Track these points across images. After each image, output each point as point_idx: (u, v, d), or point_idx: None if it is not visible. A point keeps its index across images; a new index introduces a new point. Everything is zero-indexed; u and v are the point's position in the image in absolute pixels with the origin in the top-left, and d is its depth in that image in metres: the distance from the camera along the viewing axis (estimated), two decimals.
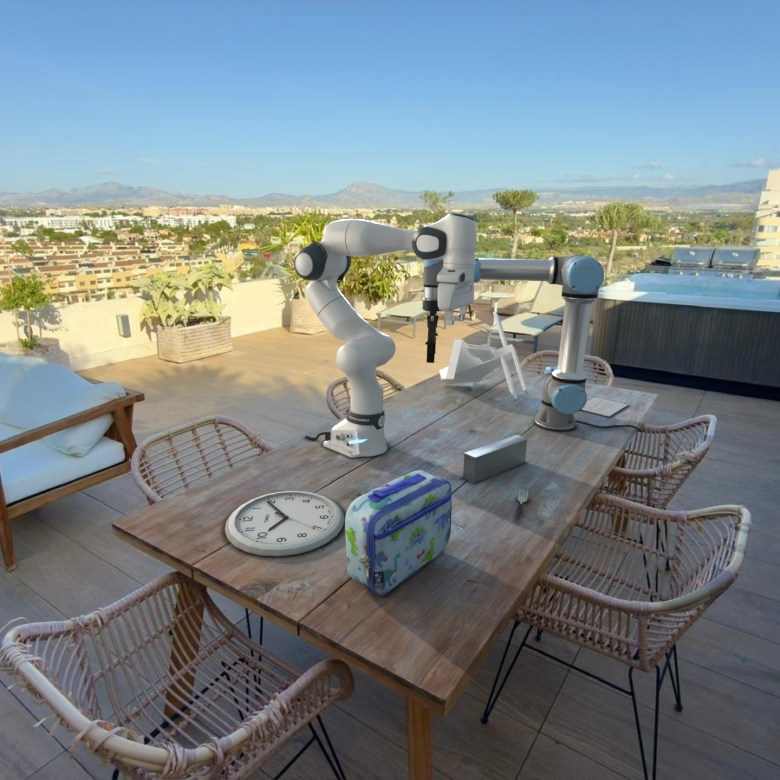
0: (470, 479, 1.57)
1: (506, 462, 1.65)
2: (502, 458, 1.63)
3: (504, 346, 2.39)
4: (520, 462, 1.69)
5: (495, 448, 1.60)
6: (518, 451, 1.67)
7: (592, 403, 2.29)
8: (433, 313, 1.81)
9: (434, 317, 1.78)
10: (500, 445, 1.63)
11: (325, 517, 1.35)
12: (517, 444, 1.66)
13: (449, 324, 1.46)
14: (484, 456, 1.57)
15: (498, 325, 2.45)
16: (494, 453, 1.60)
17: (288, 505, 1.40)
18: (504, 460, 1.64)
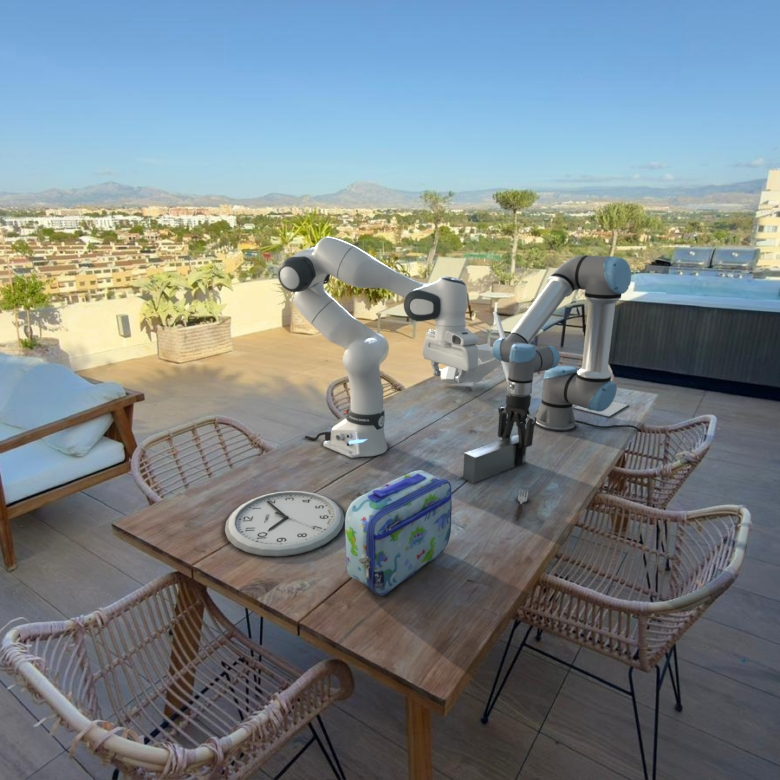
0: (470, 479, 1.57)
1: (506, 462, 1.65)
2: (502, 458, 1.63)
3: None
4: None
5: (495, 448, 1.60)
6: None
7: None
8: (527, 410, 1.62)
9: (535, 420, 1.61)
10: (500, 445, 1.63)
11: (325, 517, 1.35)
12: (517, 444, 1.66)
13: (461, 382, 1.53)
14: (484, 456, 1.57)
15: (498, 325, 2.45)
16: (494, 453, 1.60)
17: (288, 505, 1.40)
18: (504, 460, 1.64)
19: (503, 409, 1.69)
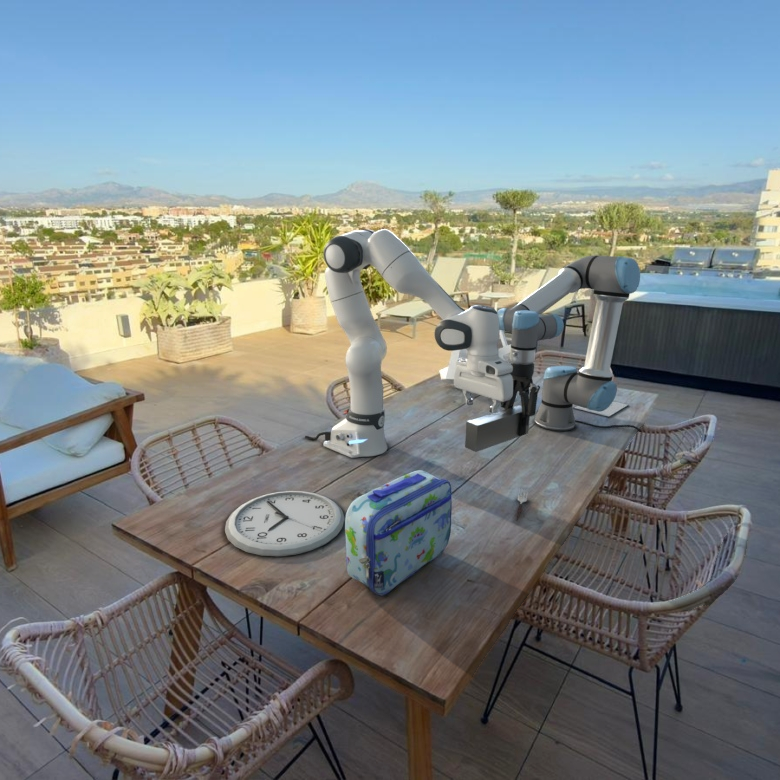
0: (472, 448, 1.54)
1: (509, 432, 1.62)
2: (505, 428, 1.60)
3: (504, 346, 2.39)
4: None
5: (498, 417, 1.57)
6: None
7: None
8: (531, 378, 1.59)
9: (538, 388, 1.58)
10: (503, 414, 1.60)
11: (325, 517, 1.35)
12: (520, 413, 1.63)
13: (495, 411, 1.50)
14: (487, 424, 1.54)
15: None
16: (497, 422, 1.57)
17: (288, 505, 1.40)
18: (507, 430, 1.61)
19: None
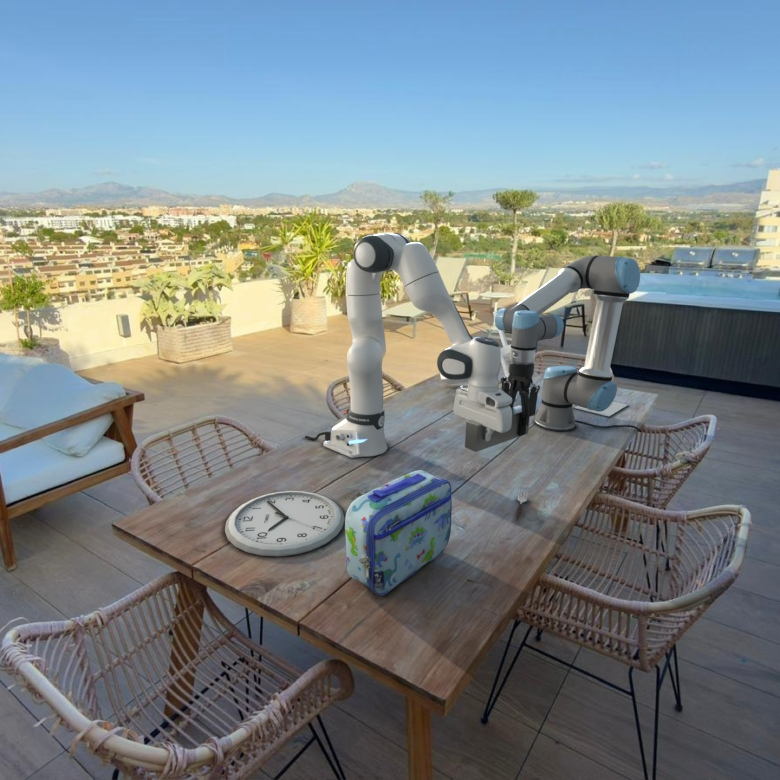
0: (472, 448, 1.54)
1: (509, 432, 1.62)
2: None
3: (504, 346, 2.39)
4: None
5: None
6: None
7: None
8: (531, 378, 1.59)
9: (538, 388, 1.58)
10: None
11: (325, 517, 1.35)
12: (520, 413, 1.63)
13: (488, 439, 1.54)
14: None
15: None
16: None
17: (288, 505, 1.40)
18: None
19: (506, 379, 1.66)
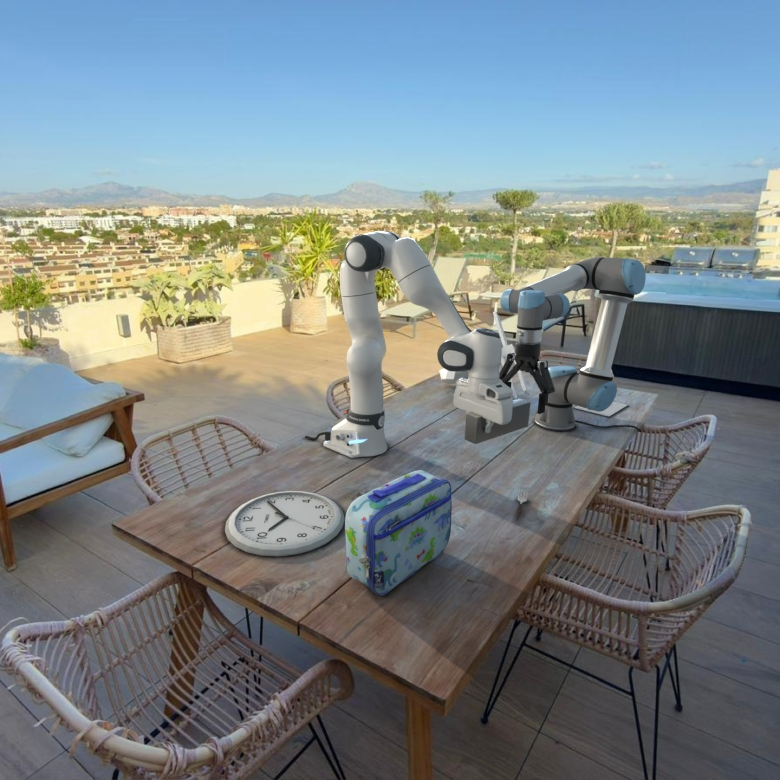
0: (472, 440, 1.54)
1: (509, 425, 1.61)
2: None
3: (504, 346, 2.39)
4: (523, 426, 1.66)
5: None
6: (521, 415, 1.64)
7: None
8: (537, 358, 1.59)
9: (547, 362, 1.57)
10: None
11: (325, 517, 1.35)
12: (520, 406, 1.62)
13: (488, 431, 1.53)
14: None
15: (498, 325, 2.45)
16: None
17: (288, 505, 1.40)
18: (507, 423, 1.60)
19: (512, 356, 1.65)
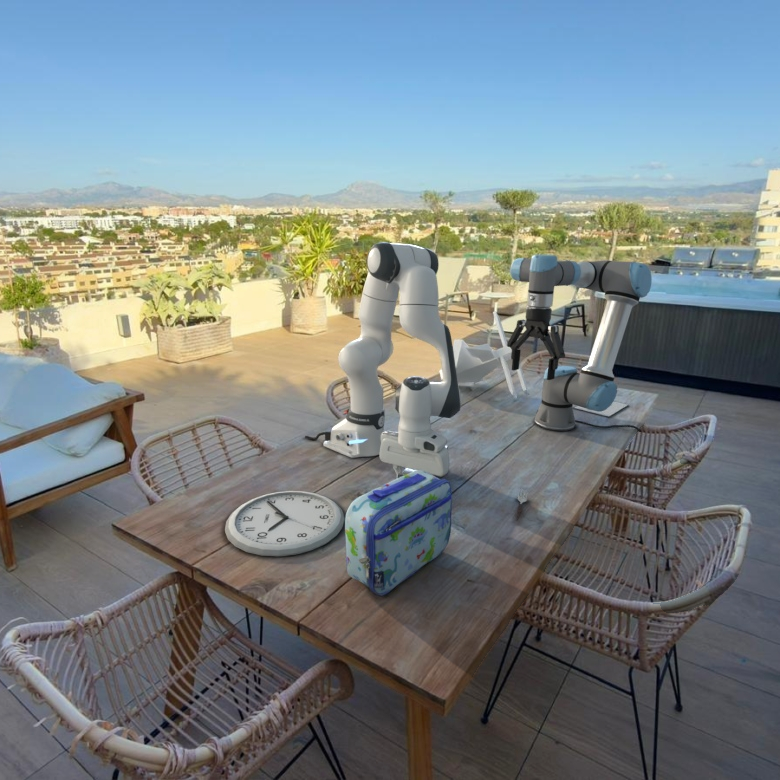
0: None
1: (435, 475, 1.56)
2: None
3: (504, 346, 2.39)
4: None
5: None
6: None
7: None
8: (548, 323, 1.58)
9: (557, 327, 1.56)
10: None
11: (325, 517, 1.35)
12: None
13: None
14: None
15: (498, 325, 2.45)
16: None
17: (288, 505, 1.40)
18: None
19: (522, 323, 1.64)
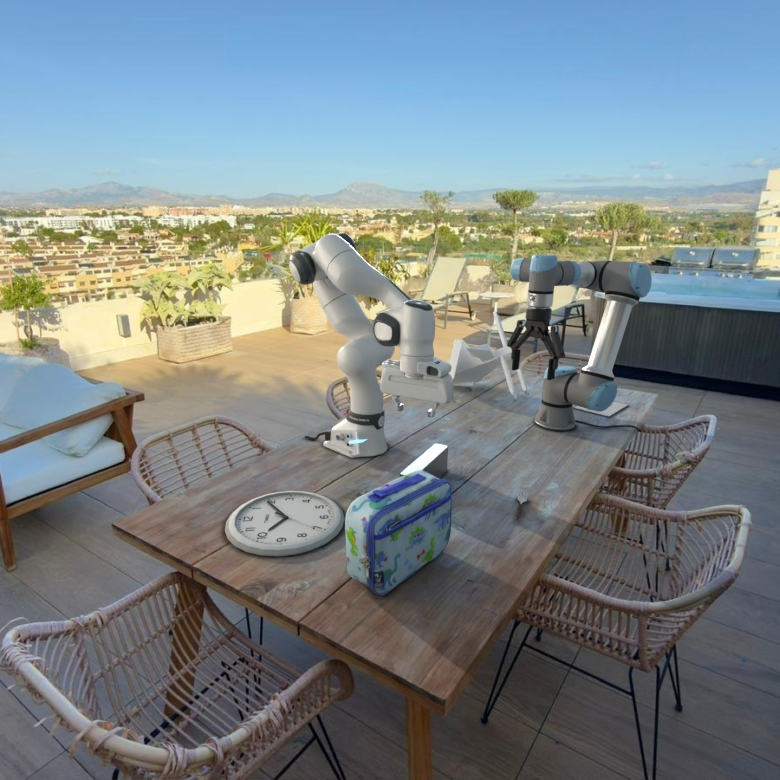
0: None
1: (435, 475, 1.56)
2: (432, 472, 1.53)
3: (504, 346, 2.39)
4: (444, 471, 1.62)
5: (426, 463, 1.50)
6: (442, 461, 1.60)
7: None
8: (548, 323, 1.58)
9: (557, 327, 1.56)
10: (428, 457, 1.53)
11: (325, 517, 1.35)
12: (441, 453, 1.58)
13: (433, 415, 1.38)
14: None
15: (498, 325, 2.45)
16: (427, 468, 1.49)
17: (288, 505, 1.40)
18: (433, 473, 1.54)
19: (522, 323, 1.64)
